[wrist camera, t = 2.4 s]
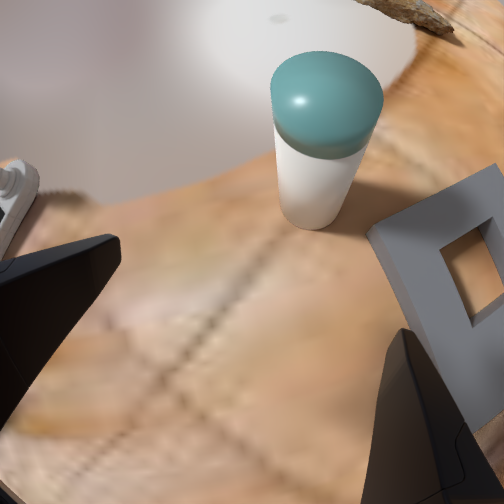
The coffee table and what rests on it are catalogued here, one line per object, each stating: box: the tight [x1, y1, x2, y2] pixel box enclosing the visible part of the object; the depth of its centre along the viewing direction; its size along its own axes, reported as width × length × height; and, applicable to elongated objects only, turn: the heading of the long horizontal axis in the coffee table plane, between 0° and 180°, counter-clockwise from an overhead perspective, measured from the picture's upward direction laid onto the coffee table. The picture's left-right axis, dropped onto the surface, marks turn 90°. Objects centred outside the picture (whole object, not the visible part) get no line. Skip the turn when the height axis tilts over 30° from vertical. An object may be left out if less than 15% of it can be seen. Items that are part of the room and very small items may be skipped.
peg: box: [270, 51, 384, 230], centre depth 17 cm, size 4×4×12 cm
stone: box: [355, 0, 454, 35], centre depth 26 cm, size 14×7×5 cm, turn 60°
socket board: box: [366, 163, 504, 434], centre depth 19 cm, size 17×13×2 cm
